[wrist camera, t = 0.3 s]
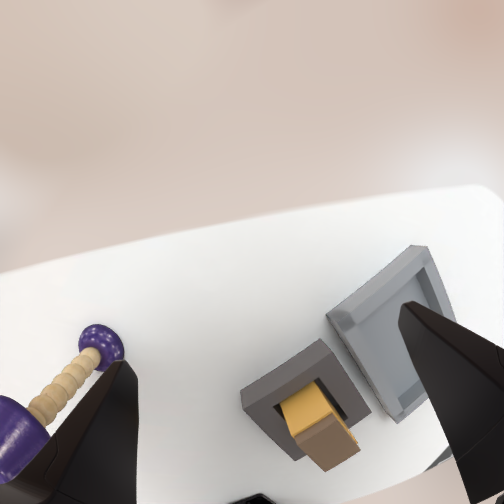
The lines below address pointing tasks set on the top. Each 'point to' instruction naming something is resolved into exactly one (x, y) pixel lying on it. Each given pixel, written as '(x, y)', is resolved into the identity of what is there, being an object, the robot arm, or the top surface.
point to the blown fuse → (318, 427)
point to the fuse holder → (292, 380)
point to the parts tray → (391, 327)
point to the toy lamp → (51, 401)
